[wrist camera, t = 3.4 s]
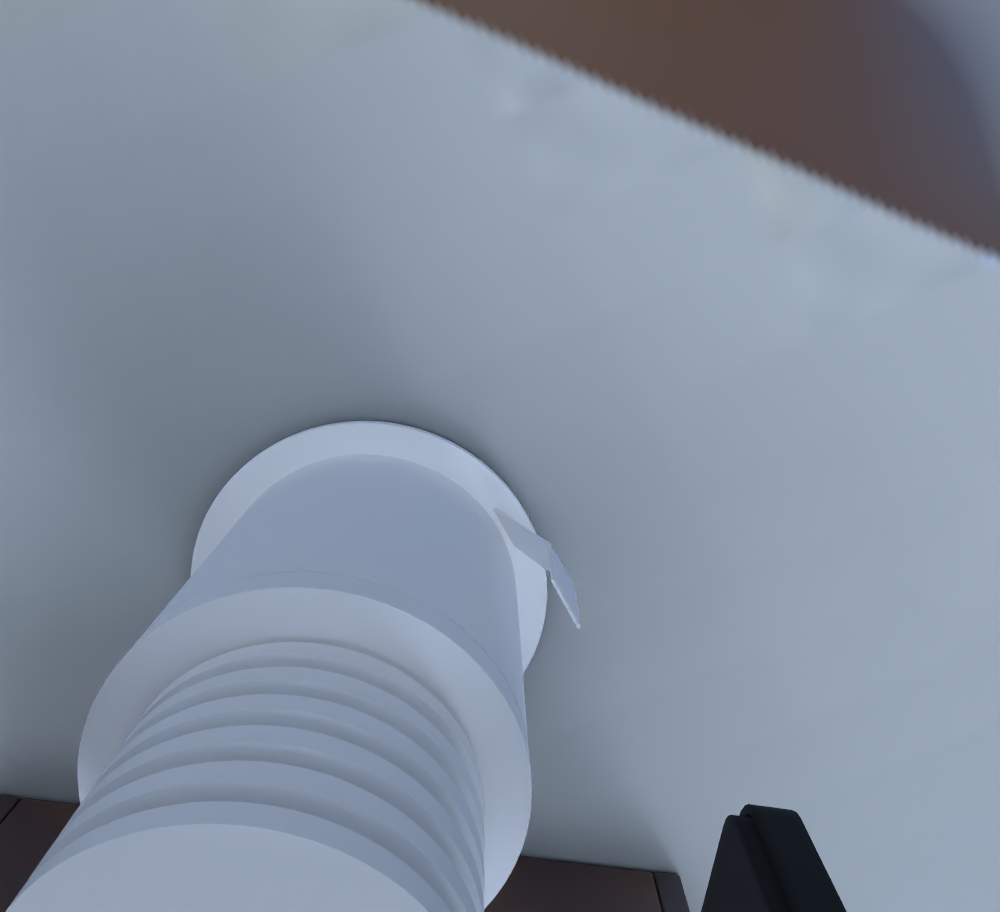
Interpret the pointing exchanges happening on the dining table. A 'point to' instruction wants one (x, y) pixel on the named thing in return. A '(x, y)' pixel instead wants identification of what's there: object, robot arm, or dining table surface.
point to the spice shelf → (516, 908)
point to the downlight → (321, 696)
